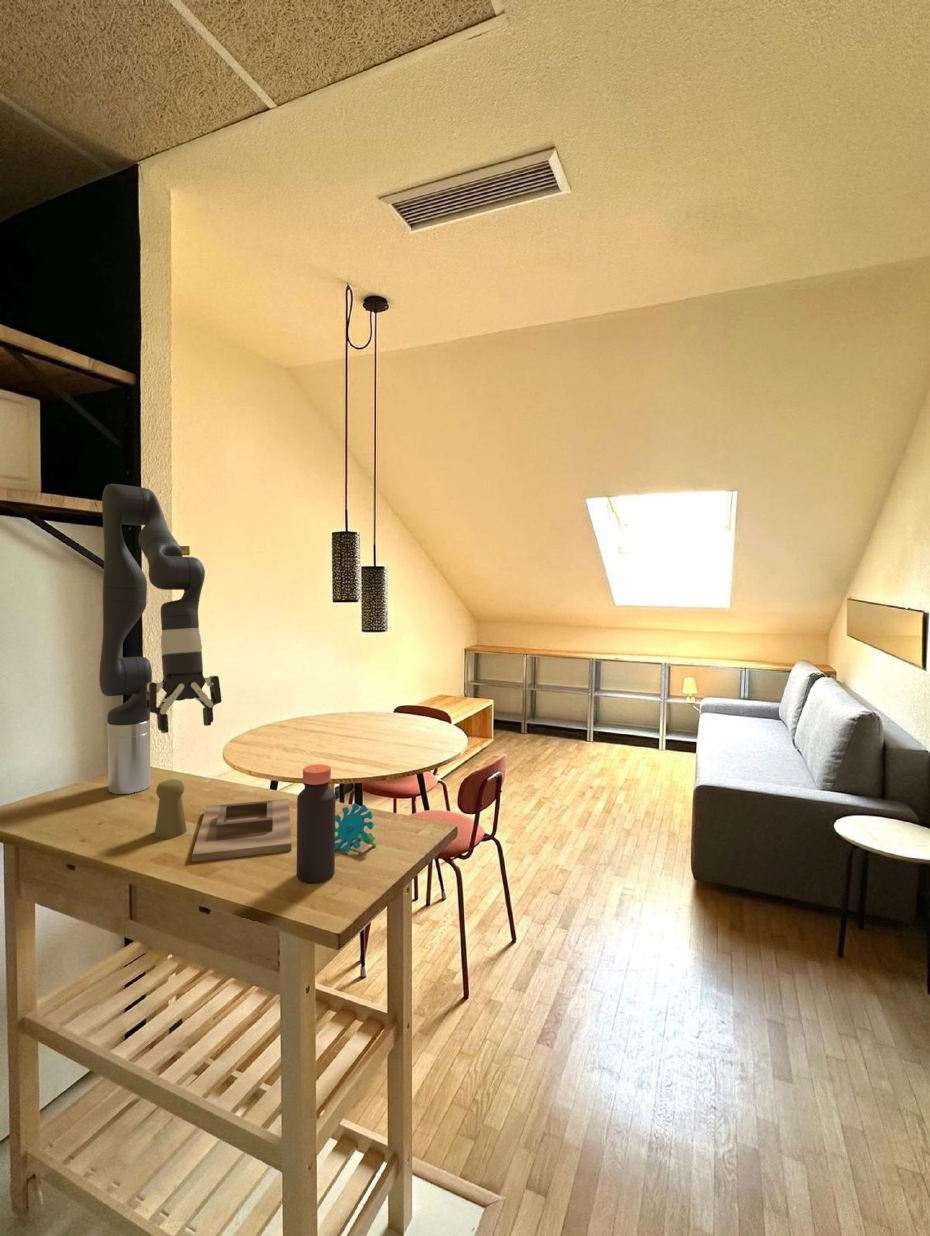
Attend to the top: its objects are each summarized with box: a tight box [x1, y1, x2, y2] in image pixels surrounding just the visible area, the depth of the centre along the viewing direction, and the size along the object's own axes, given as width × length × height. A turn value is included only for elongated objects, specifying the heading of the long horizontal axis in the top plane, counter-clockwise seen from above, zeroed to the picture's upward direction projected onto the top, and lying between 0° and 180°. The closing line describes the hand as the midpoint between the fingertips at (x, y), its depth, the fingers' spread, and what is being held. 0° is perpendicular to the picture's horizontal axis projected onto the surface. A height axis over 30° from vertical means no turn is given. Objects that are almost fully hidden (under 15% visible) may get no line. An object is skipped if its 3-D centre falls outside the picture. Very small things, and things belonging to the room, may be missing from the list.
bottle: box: [296, 763, 337, 885], centre depth 104 cm, size 7×7×20 cm
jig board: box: [191, 798, 292, 863], centre depth 122 cm, size 24×18×4 cm
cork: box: [154, 779, 187, 840], centre depth 120 cm, size 6×6×11 cm
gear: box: [335, 803, 377, 853], centre depth 118 cm, size 11×6×10 cm
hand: (186, 729), depth 119 cm, fingers open, 8 cm apart
